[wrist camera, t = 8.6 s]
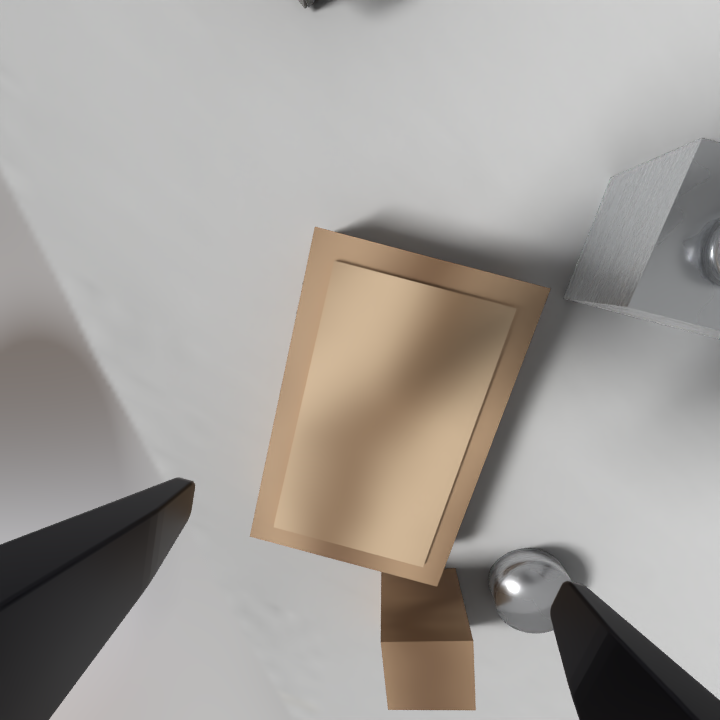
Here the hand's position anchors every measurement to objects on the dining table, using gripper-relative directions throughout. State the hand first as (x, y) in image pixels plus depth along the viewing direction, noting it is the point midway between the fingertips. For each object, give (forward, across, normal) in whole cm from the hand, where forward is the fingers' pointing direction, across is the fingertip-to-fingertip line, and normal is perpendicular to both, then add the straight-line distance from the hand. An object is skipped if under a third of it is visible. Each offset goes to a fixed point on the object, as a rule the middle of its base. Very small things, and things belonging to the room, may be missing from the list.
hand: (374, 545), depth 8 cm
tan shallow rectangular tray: (+9, 0, 0) cm, 9 cm away
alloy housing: (+9, -10, -10) cm, 17 cm away
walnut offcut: (+9, -5, +10) cm, 15 cm away
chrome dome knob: (+9, -10, +7) cm, 16 cm away
